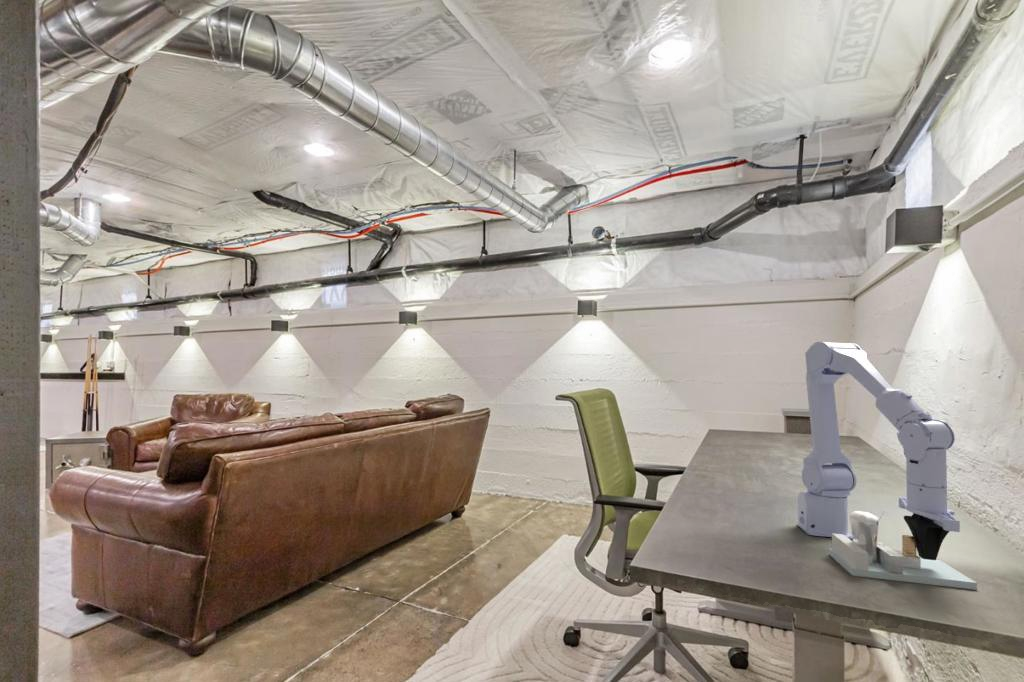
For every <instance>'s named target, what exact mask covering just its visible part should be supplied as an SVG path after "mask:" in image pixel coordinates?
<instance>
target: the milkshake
mask: <svg viewBox="0 0 1024 682" xmlns="http://www.w3.org/2000/svg"><path fill="white" fill-rule="evenodd" d="M884 513H885V511H883V512H882V513H881V516H880V517H878V516H877V515H876V514H872V513H871V512H869V511H862V510H854V511H852V512H851V513H850V514H849V519H850V528H851V534H852V537H853V539H852V541H853V543H855V544H857V545H858V546H859V547H861V548H862V549H863V550H864V551H866V552H867V553H868V564H874V563H875V562H876V549H877V540H878V536H879V535H878V534H879V527H880V520H881V518H882V516H883V515H884Z"/></svg>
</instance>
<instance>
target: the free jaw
mask: <svg viewBox="0 0 1024 682" xmlns="http://www.w3.org/2000/svg"><path fill="white" fill-rule="evenodd" d="M901 538H902V540H901V544H902V545H901V546H902V550H898V549H896V550H895V549H892V548H891V547H889V546H887V545H886V544H885V543H883V542H881V540H878V539H877V549H876V562H877V563H878V564H880V565H881V566H882V567H884V568H885V569H886V570H888V571H889V572H890V573H899V574H903V567H906V568H915V569H921V559H920V558H921V557H919V555H917V548H916V538H915V537H913V535H909V534H902V535H901Z"/></svg>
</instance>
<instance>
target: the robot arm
mask: <svg viewBox="0 0 1024 682" xmlns="http://www.w3.org/2000/svg"><path fill="white" fill-rule="evenodd" d="M804 354H805V355H804V356H805V365H806V375H805V379H806V380H805V381H806V390H807V402H808V403H807V404H808V412H809V423H810V432H811V443H812V451H811V452H810V453H808V454H806V456H805V457H804V458H803V459H802V460H803V468H802V471H801V481H802V483H803V486H805V488H806V489H807V490H806V491H800V492H799V494H798V497H797V522H796V525H797V526H798V527H800V529H802V531H804V533H805V534H807V535H808V536H814V537H815V536H816V537H817V536H818V537H826V538H827V537H828V538H832V533H834V534H843V535H845V536H846V537H847V538H849V539H850V540H853V537H852V533H851V532H849V530H848V529H849V528H848V527H849V526H848V525H849V524H848V523H849V520H848V519H849V518H848V517H849V516H848V513H849V512H848V510H849V509H848V508H849V507H848V500H849V499H848V497H849V496H851V492H852V491H853V490H855V488H856V486H857V476H856V473H855V472H854V470H853V468H852V462H851V461H852V460H851V459H850V458H849V457H848V456H847V455H845V454H844V453H843V452H842V450H841V440H840V432H839V431H840V430H839V424H838V423H839V422H838V413H837V403H836V402H837V401H836V394H835V383H836V382H837V381H838V380H839V379H841V378H842V377H844V376H846V375H851V376H852V377H853V378H854V379H855V380H856V381H857V382H858V383H859V385H861V386H863V388H865V389H866V391H868V392H869V393H870V394H871V395H872V396H873V397H874V398H875V408H877V410H878V411H879V412H880V413H881V414H882V415H883V416H884V417H885V418H886V419H887V421H888V422H890V424H891V425H892V426H893V427H894V428H895V429H896V430H897V431H898V432H897V433H896V435H897V439H898V440H897V441H899V444H900V445H901V447H902V448H903V456H904V458H905V461H906V463H905V464H906V465H905V466H906V468H905V469H906V476H905V477H906V497H898V508H900V509H903V510H906V511H907V512H910V513H912V515H903V520H904V521H905V523H906V525H907V526H908V528H909V530H910V532H911V536H913V537H915V538H916V552H917V554H918V557H920V558H923V559H928V560H937V559H938V558H937V557H938V555H939V553H940V552H939V551H940V549H941V546H942V543H943V542H944V540H945V538H946V537H947V535H948V534H949V533H950V532H955V533H960V532H961V526H960V523H961V522H960V520H958V519H956V517H954V516H955V511H954V510H952V509H949V508H948V472H947V468H948V467H947V465H948V464H947V450H949V449H950V448H951V447H952V446H953V445H954V443H955V433H954V430H953V429H952V427H950V425H949V423H948V422H946V421H944V420H943V419H936V418H934V417H933V416H931V414H930V413H929V412H928V411H925V410H924V409H923V408H922V407H921V406H920V405H919V404H918V403H917V402H916V401H915V400H914V399H913V397H914V396H913V395H912V393H910V391H904V390H903V389H895V388H893V387H892V386H891V385H890V384H889V383H888V382H887V380H886V379H885V378H884V377H883V376H882V374H880V372H879V371H878V369H876V368H875V366H874V365H873V364H872V363H871V362H870V360H869V359H868V353H867V352H866V351H865V350H863V348H861V346H859V344H856V343H853V342H847V343H846V342H829V341H827V342H826V341H821V340H820V341H815V342H814V343H812V345H810V346H809V348H808V349H807V350H806V352H805V353H804Z"/></svg>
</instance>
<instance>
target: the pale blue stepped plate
mask: <svg viewBox="0 0 1024 682" xmlns="http://www.w3.org/2000/svg"><path fill="white" fill-rule="evenodd" d="M828 551H829V554H828V555H829V556H830V557H831V558H833V559H834V560H835V561H836V562H837V563H838V564H839V565H840V566H841V567H842V568H844V569H845V571H847V572H848V573H849V574H850V575H851V576H854V577H863V578H869V579H870V578H873V579H880V580H888V581H889V580H890V581H897V582H907V583H914V584H923V585H924V584H925V585H931V586H932V585H933V586H939V587H947V588H958V589H967V590H975V591H977V590H978V582H977V581H975V580H973V579H971V578H970V577H968V576H966V575H965V574H963V573H962V572H960V571H959V570H956V569H955V568H953V567H951V566H950V565H949V564H947V563H945V562H943V561H942V560H940V559H936V560H928V559H923V558H921V557H920V559H921V569H915V568H906V567H903V574H899V573H890V572H889V571H888V570H886V569H885V568H884V567H882V566H881V565H880V564H878V563H877V562H875V563H874V564H868V553H867V552H866V551H864V550H863V549H862V548H861V547H859V546H858V545H857V544H855V543H853V540H852V539H849V538H847V537H846V536H845V535H843V534H834V533H832V537H831V548H828Z"/></svg>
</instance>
